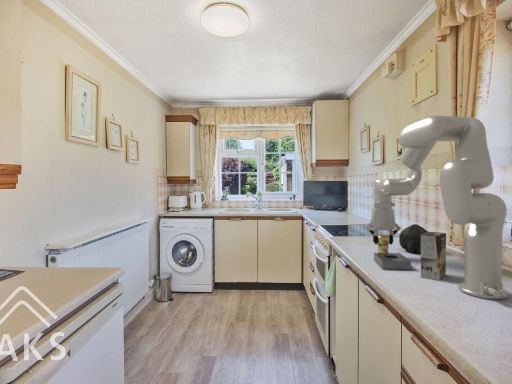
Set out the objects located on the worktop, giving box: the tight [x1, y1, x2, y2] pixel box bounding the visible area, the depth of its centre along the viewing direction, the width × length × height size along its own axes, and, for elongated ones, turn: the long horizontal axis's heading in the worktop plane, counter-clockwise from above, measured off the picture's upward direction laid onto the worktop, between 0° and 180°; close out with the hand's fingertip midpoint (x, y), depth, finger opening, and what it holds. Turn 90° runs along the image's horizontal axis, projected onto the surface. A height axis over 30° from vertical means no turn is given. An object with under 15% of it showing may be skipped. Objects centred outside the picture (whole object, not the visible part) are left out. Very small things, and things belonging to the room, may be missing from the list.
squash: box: [398, 223, 429, 254], centre depth 150 cm, size 14×15×15 cm
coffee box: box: [420, 231, 447, 281], centre depth 112 cm, size 9×6×16 cm
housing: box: [373, 252, 412, 271], centre depth 128 cm, size 14×11×4 cm
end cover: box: [376, 233, 391, 253], centre depth 140 cm, size 6×6×8 cm
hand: (383, 243), depth 140 cm, fingers closed on end cover, 5 cm apart
